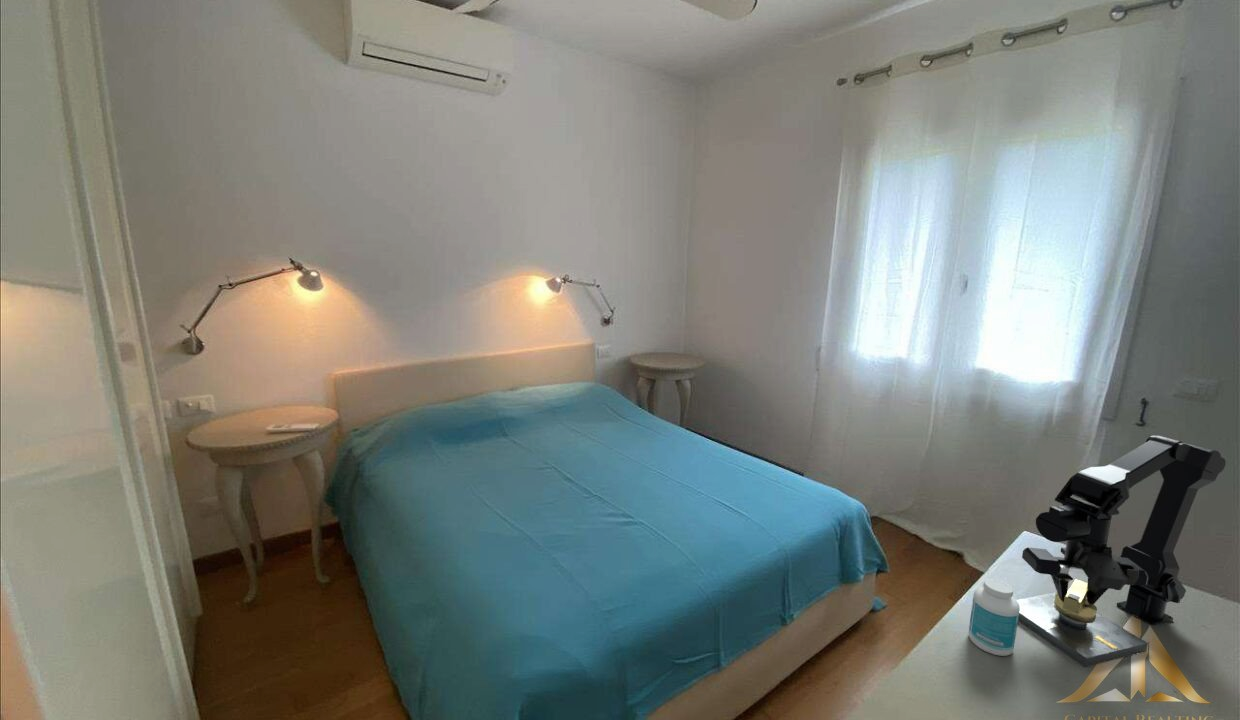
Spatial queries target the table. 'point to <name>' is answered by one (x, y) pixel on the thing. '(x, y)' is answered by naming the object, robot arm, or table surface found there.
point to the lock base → (1078, 632)
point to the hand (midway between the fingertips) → (1075, 601)
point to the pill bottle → (994, 617)
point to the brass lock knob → (1076, 604)
